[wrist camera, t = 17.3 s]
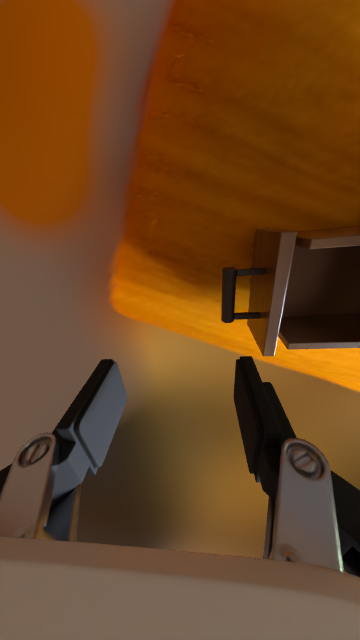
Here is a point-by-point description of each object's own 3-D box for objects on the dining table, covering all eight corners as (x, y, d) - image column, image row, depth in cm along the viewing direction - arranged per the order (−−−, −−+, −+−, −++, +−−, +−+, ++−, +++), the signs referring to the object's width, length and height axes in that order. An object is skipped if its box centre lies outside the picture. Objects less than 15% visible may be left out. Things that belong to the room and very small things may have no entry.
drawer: (217, 325, 28) (223, 357, 21) (218, 231, 22) (227, 237, 15) (357, 319, 26) (411, 353, 19) (398, 215, 20) (494, 214, 14)
